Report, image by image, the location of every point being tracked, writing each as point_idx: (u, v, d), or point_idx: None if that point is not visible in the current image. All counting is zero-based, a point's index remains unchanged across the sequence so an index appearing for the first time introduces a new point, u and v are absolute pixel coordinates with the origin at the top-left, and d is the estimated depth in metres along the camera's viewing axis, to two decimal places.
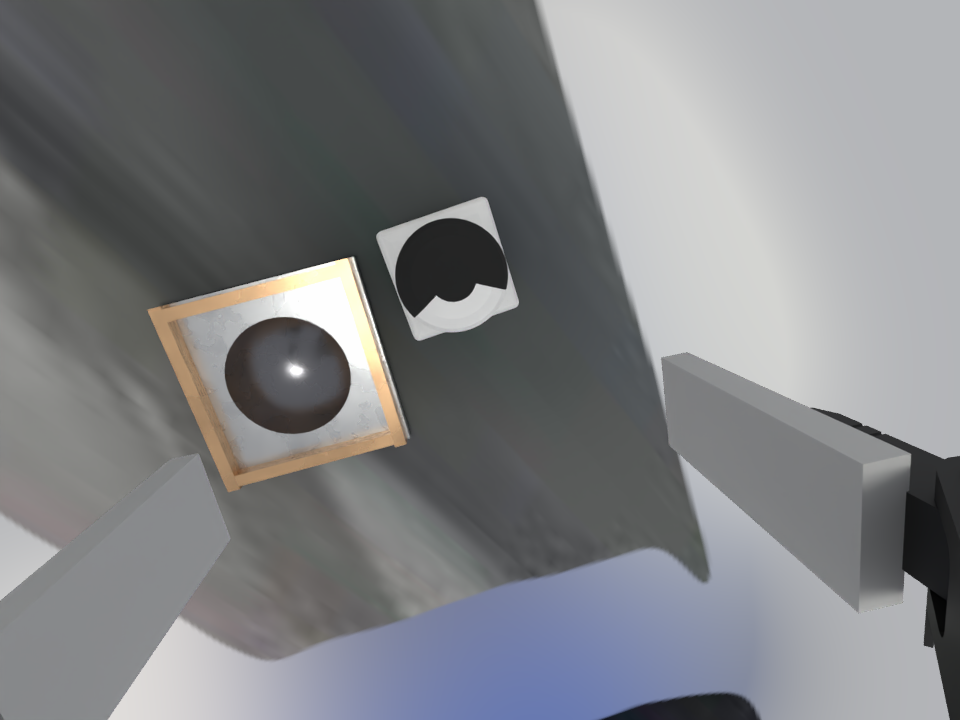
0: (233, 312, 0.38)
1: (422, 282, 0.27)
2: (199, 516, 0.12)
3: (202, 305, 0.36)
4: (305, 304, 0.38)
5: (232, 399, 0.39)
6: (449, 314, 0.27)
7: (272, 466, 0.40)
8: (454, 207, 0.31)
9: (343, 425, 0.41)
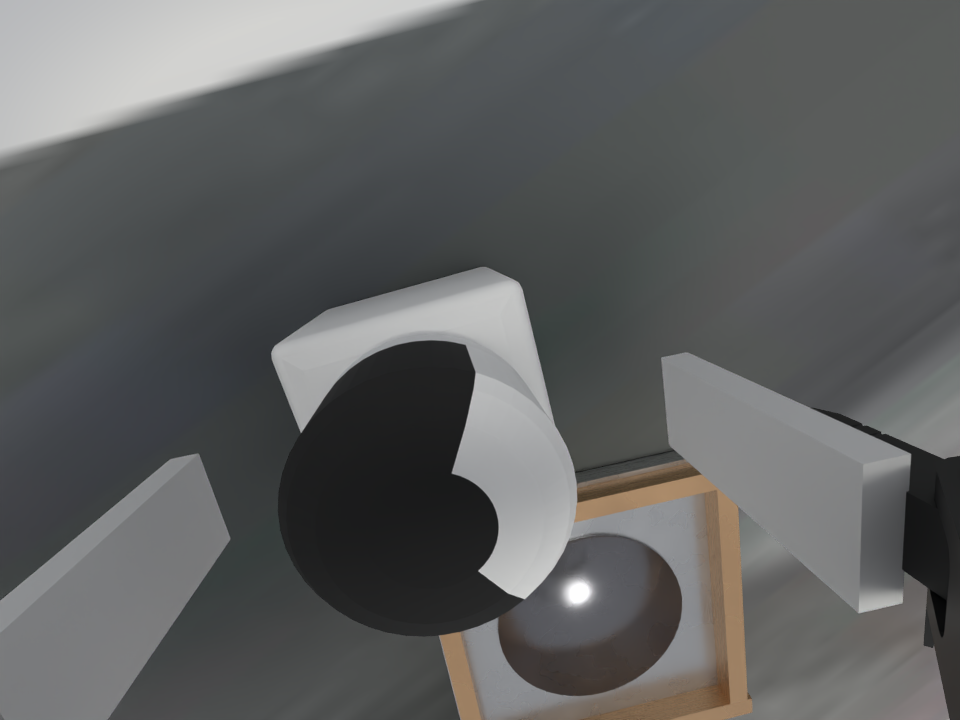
0: (485, 678, 0.26)
1: (442, 601, 0.10)
2: (199, 516, 0.12)
3: None
4: None
5: (612, 688, 0.27)
6: (531, 537, 0.10)
7: (728, 657, 0.26)
8: (295, 416, 0.14)
9: (681, 549, 0.25)
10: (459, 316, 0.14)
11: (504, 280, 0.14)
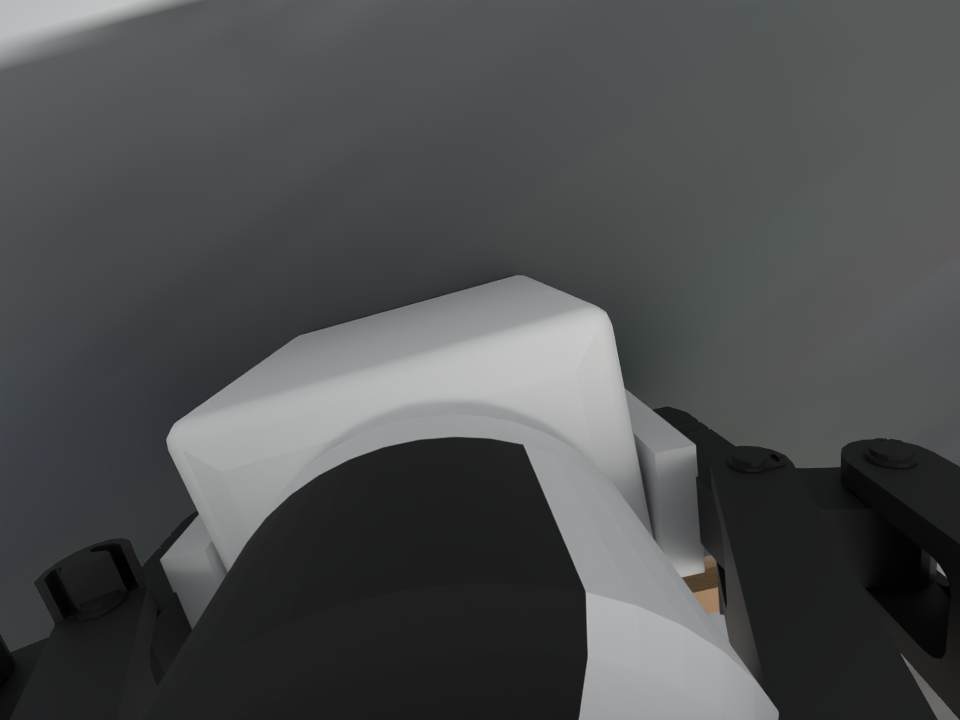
0: None
1: None
2: None
3: None
4: None
5: None
6: None
7: None
8: (214, 543, 0.08)
9: None
10: (501, 373, 0.08)
11: (581, 308, 0.08)
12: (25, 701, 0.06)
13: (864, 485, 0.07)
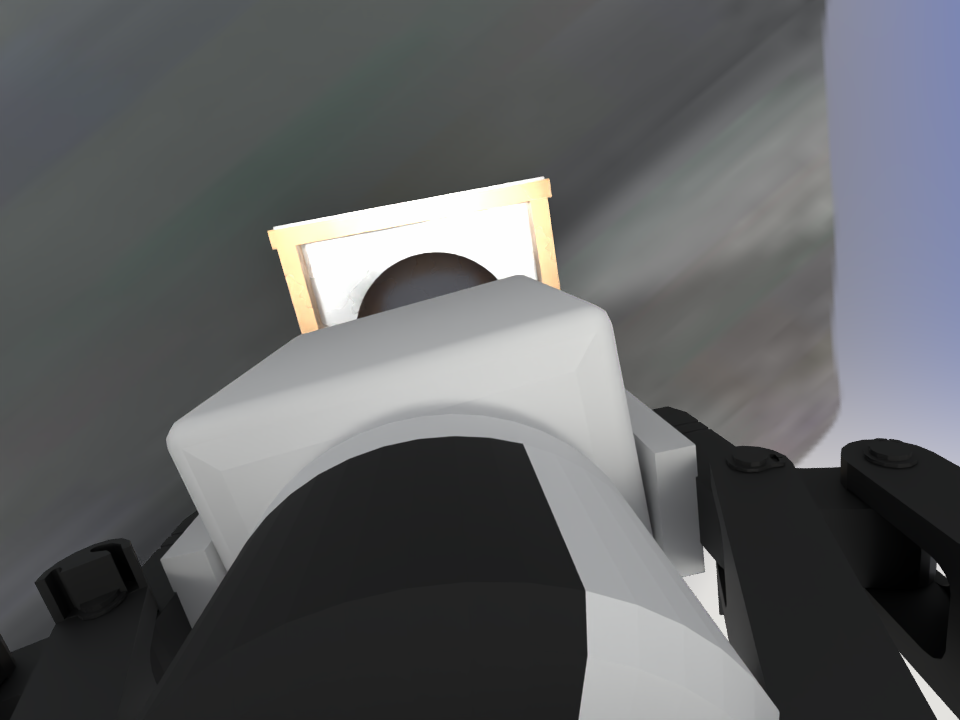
0: None
1: None
2: None
3: None
4: (339, 298, 0.29)
5: None
6: None
7: None
8: (214, 542, 0.08)
9: (513, 271, 0.29)
10: (501, 373, 0.08)
11: (580, 307, 0.08)
12: (26, 701, 0.06)
13: (864, 485, 0.07)
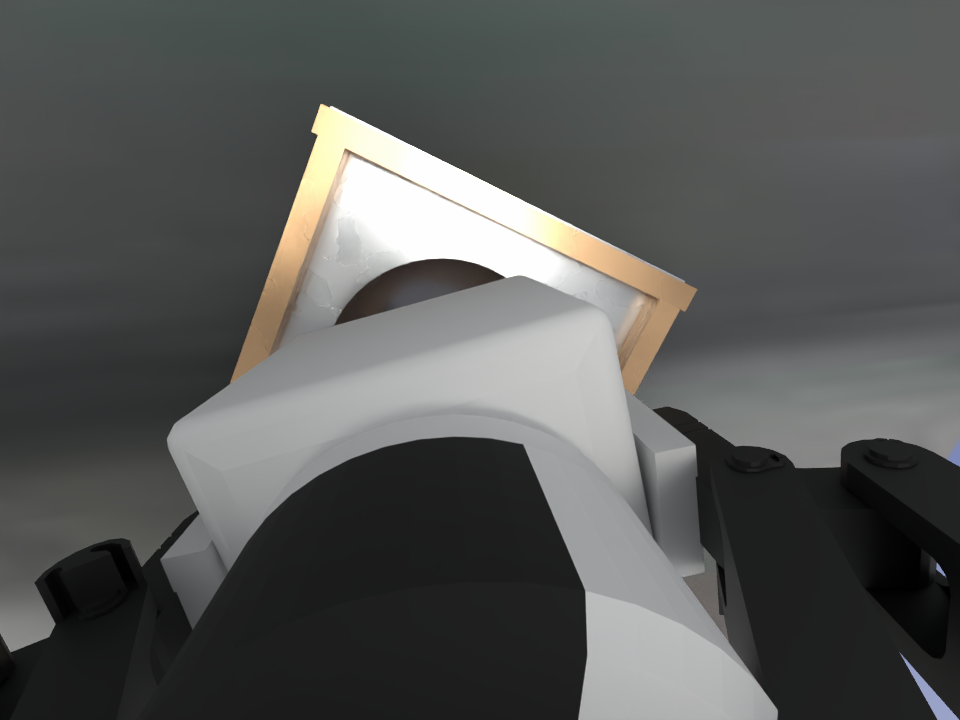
0: None
1: None
2: None
3: None
4: (352, 253, 0.19)
5: None
6: None
7: None
8: (215, 542, 0.08)
9: None
10: (501, 373, 0.08)
11: (580, 307, 0.08)
12: (26, 701, 0.06)
13: (864, 485, 0.07)
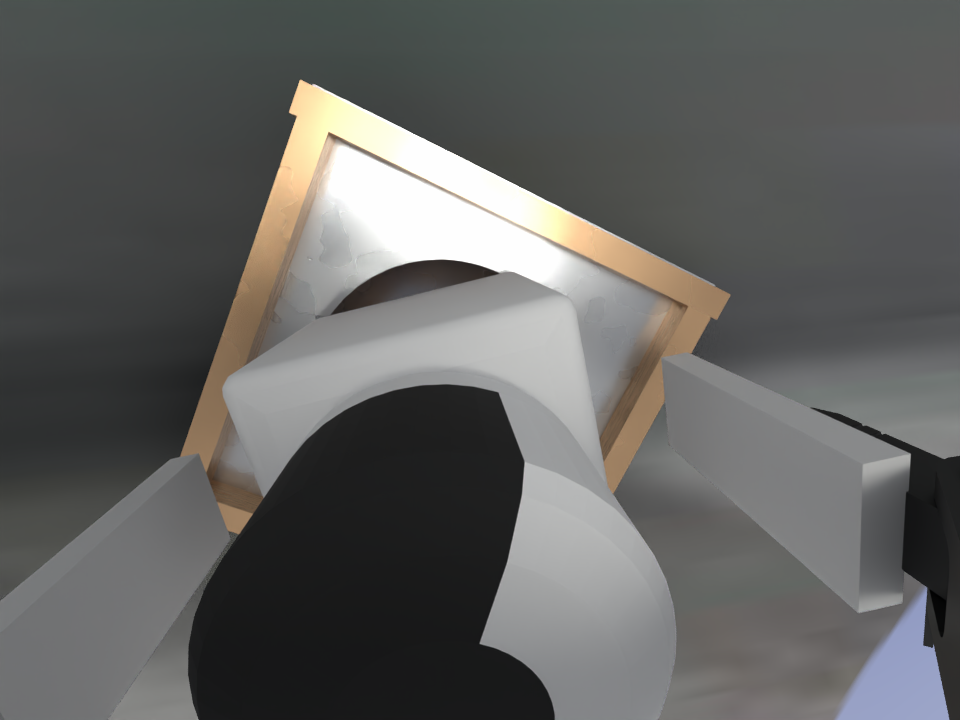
0: None
1: None
2: (199, 516, 0.12)
3: (207, 419, 0.17)
4: (339, 253, 0.17)
5: None
6: None
7: None
8: (255, 473, 0.10)
9: (594, 376, 0.19)
10: (486, 344, 0.10)
11: (551, 295, 0.10)
12: None
13: None
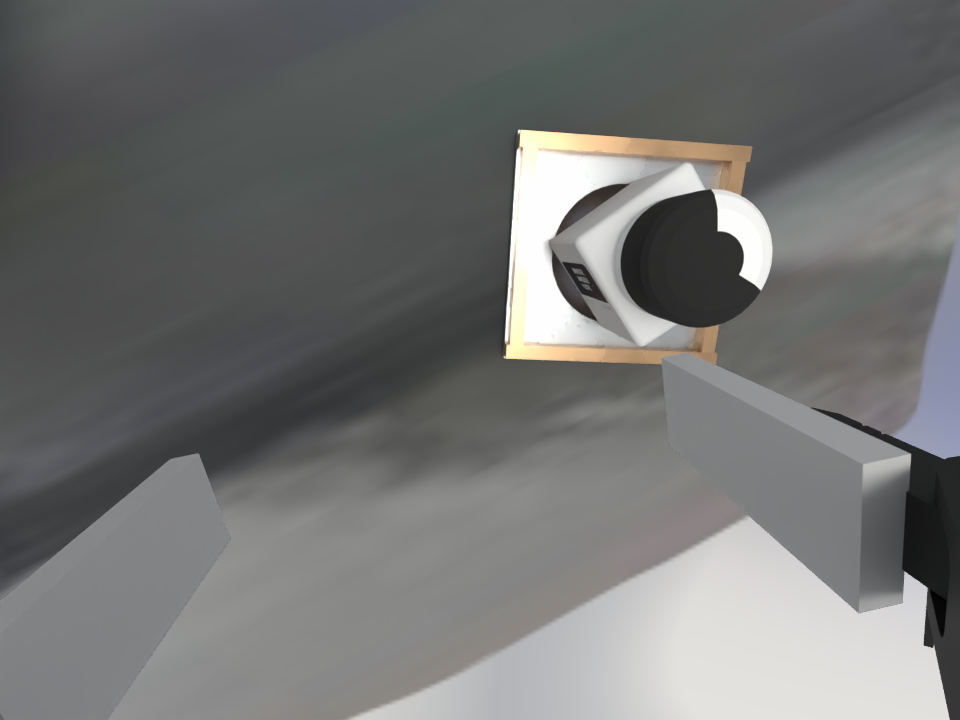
0: (533, 283, 0.35)
1: (726, 294, 0.23)
2: (199, 516, 0.12)
3: (519, 305, 0.34)
4: (550, 204, 0.34)
5: None
6: (758, 252, 0.22)
7: None
8: (595, 272, 0.27)
9: None
10: (665, 190, 0.26)
11: (681, 164, 0.27)
12: None
13: None
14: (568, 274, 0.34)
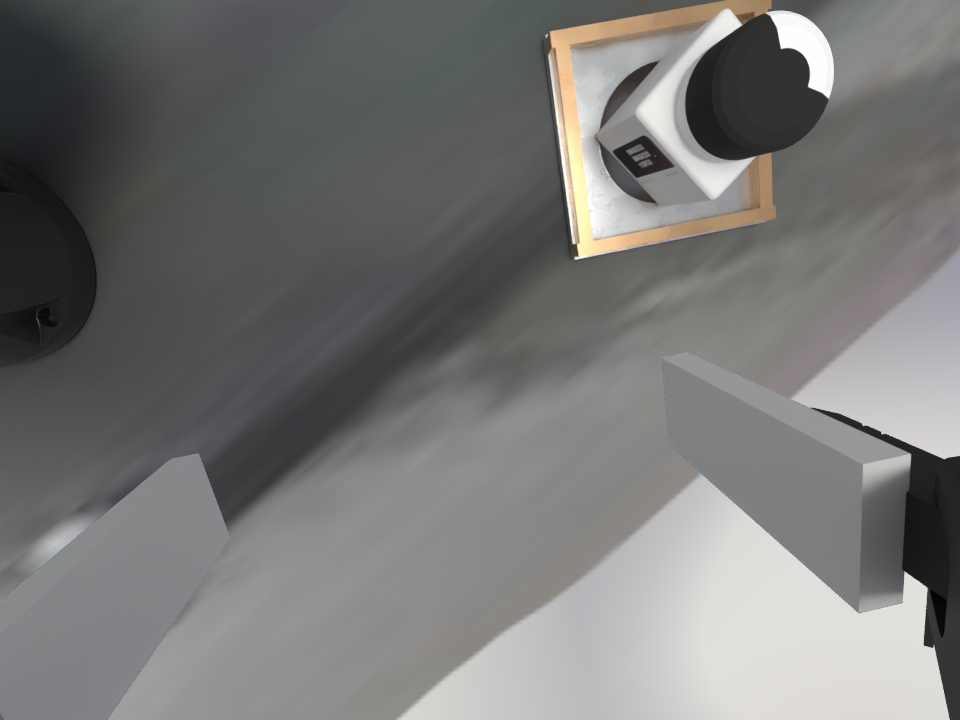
0: (588, 181, 0.37)
1: (799, 109, 0.24)
2: (199, 516, 0.12)
3: (581, 202, 0.36)
4: (589, 99, 0.35)
5: None
6: (821, 61, 0.24)
7: (759, 164, 0.36)
8: (659, 137, 0.29)
9: None
10: (710, 39, 0.28)
11: (719, 12, 0.28)
12: None
13: None
14: (620, 162, 0.36)
